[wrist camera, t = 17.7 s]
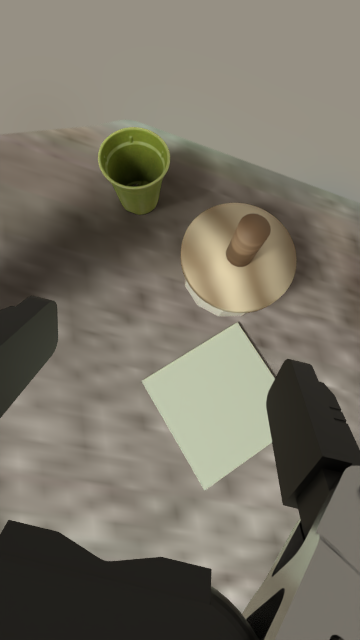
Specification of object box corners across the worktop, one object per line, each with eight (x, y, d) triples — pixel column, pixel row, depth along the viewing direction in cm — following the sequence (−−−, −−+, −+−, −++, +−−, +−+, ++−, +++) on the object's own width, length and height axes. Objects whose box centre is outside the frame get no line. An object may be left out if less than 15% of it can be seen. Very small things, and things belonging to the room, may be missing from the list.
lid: (221, 335, 35) (236, 322, 28) (159, 239, 38) (158, 204, 31) (314, 276, 38) (350, 251, 31) (250, 190, 40) (269, 147, 33)
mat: (204, 489, 37) (204, 490, 36) (141, 381, 39) (141, 381, 39) (300, 420, 40) (302, 420, 39) (236, 323, 42) (237, 322, 42)
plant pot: (179, 211, 46) (182, 172, 37) (124, 234, 44) (115, 198, 36) (153, 165, 47) (151, 118, 39) (100, 186, 46) (86, 141, 38)
